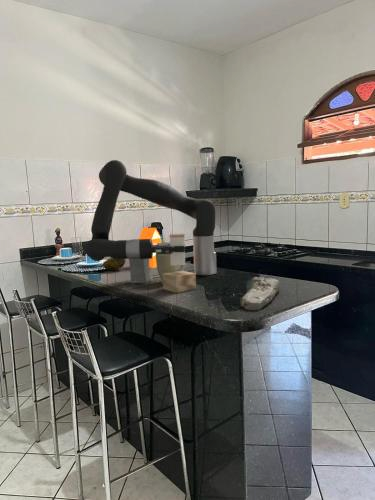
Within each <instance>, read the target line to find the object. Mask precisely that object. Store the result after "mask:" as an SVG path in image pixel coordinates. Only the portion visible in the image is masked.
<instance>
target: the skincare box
mask: <svg viewBox="0 0 375 500" xmlns="http://www.w3.org/2000/svg"><path fill="white" fill-rule="evenodd" d="M128 264H129V273H130V281H131V282H130V283H131V284H146V283H148V282H149V281H151V279H152V276H151V268H150V264H149V259H128Z"/></svg>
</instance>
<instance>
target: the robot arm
mask: <svg viewBox="0 0 375 500" xmlns="http://www.w3.org/2000/svg"><path fill="white" fill-rule="evenodd" d="M98 179H99V182H100V183H101V184H102V185H103V189H102V193H101V196H100V198H99V201H98V204H97V206H96V208H95V212H94V215H93V219H92V224H91V228H90V231H91V239H90V240H87V241H86V243H85V244H84V246H83V247H84V248H83V249H84V253H85V255H86V256H87V257H88V258H90V259H91V260H92V261H94V262H101V261H103V260H104V259H105V258H111V257H112V258H115V259H125V260H129V259H152V257H153V253H156V254H157V255H160V254H172V253H174V251H175V252H184V251H185V252H186V247H184V246H170V242H169V243H168V242H161V243H157V245H153V244H152V239H139V238H136V239H135V238H134V239H133V238H132V239H120V240H119V239H118V240H112V239H109V238H110V237H109V236H110V231H111V228H112V223H113V218H114V213H115V210H116V206H117V202H118V198H119V196H120V195H119V194H120V192H124V193H128V194H129V195H133V196H135V197H138V198H140V199H143V200H145V201H147V202H150V203H152V204H155V205H158V206H161V207H164V208H167V209H171V210H174V211H178V212H179V213H183V214H184V215H186V216H188V217H190V218H192V219H194V220H196V221H195V222H196V223H195V227H194V229H193V230H192V239H193V241H192V243H193V244H192V245H193V247H192V249H193V271H194V272H193V273H196V276H209V275H210V276H211V275H214V274H217V252H215V241H214V239H215V237H214V235H215V234H214V232H215V228H216V207H215V205H214V203H213V201H212V200H209V199H205V198H204V199H203V198H202V199H198V198H197V199H196V198H193V197H189V196H187V195H184V194H183V193H181V192H179V191H178V190H177V189H176V188H174V187H172V186H170V185H168V184H167V183H164V182H161V181H158V180H156V179H149V178H141V177H134V176H131V175H129V174H128V173H127V168H126V165H125V164H124V163H123V162H121V161H119V160H117V159H113V160H110V161H107V163H105V164H104V166H103V167H102V168H101V169H100V171H99V172H98Z"/></svg>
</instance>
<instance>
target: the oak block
mask: <svg viewBox="0 0 375 500" xmlns="http://www.w3.org/2000/svg"><path fill="white" fill-rule="evenodd" d="M162 289H163V290H166V291H169V292H173V293H175V294H177V293H182V292H186V291H187V292H188V291H191V290H196V289H197V275H196V273H194V272H190V271H187V270H180V271H178V270H177V271H176V272H170V273H164V274H163V283H162Z"/></svg>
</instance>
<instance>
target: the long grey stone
mask: <svg viewBox="0 0 375 500" xmlns="http://www.w3.org/2000/svg"><path fill="white" fill-rule="evenodd" d="M251 282H252V284H251V287H250V289H249V290H247V292H246V293H245V294H244V295H243V296H242V298H241V300H242V301H241V307H243V308H244V309H245V310H249V311H259V310H262V308H264V307H265V306H267V305H268V304H269V303H270V302H272V300H273V299H274V298H275V297H276V294H277V293H278V292H279V290H280V287H281V285H280V284H281V283H280V281H279V280H278V279H276V278H270V277H268V278H267V277H266V278H265V277H263V276H259V277H257V276H255V277H252V278H251Z"/></svg>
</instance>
